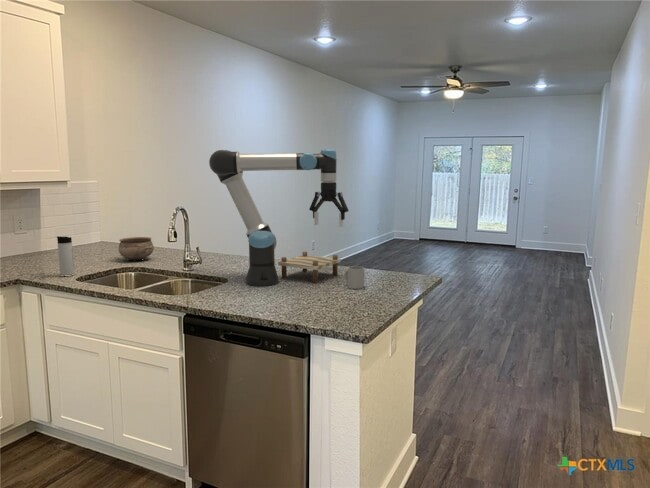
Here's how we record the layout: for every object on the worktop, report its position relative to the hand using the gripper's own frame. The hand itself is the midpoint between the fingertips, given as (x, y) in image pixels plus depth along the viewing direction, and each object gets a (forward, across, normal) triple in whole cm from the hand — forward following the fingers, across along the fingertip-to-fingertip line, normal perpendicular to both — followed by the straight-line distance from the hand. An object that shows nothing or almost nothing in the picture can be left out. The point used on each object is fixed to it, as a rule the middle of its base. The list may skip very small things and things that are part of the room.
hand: (328, 225), depth 243 cm
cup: (+25, -21, +15) cm, 36 cm away
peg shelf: (+25, +7, +6) cm, 26 cm away
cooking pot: (+25, +117, +16) cm, 120 cm away
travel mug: (+25, +114, +61) cm, 132 cm away
